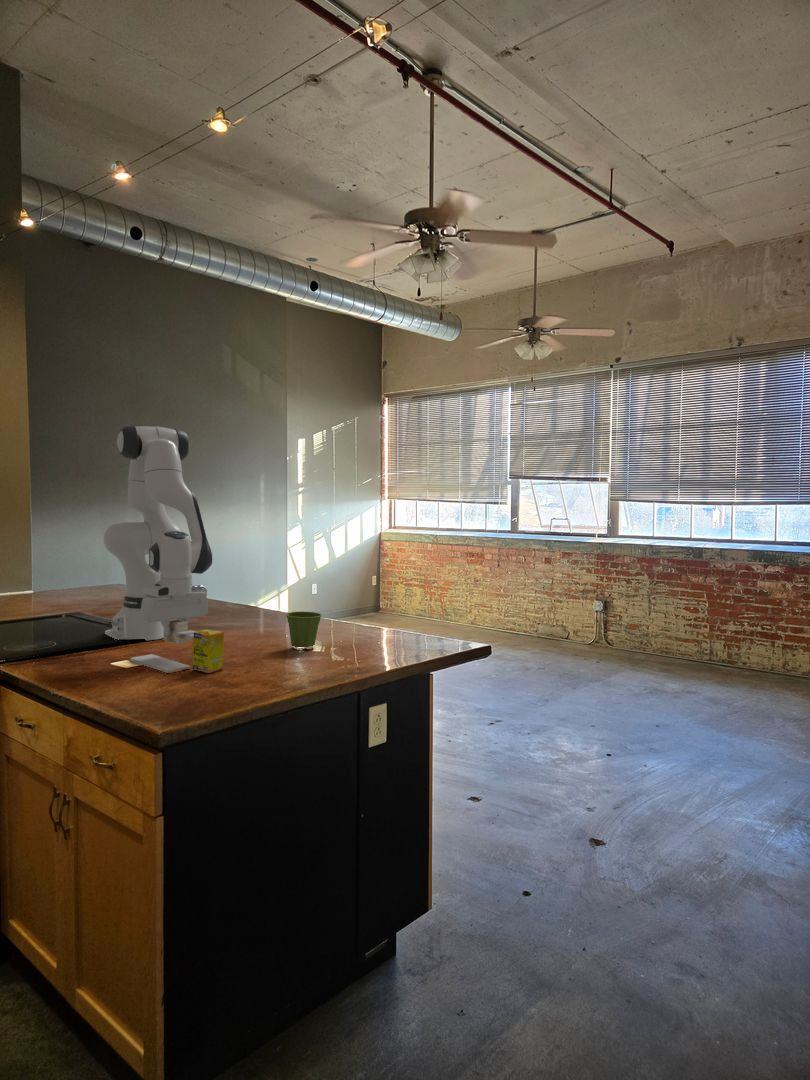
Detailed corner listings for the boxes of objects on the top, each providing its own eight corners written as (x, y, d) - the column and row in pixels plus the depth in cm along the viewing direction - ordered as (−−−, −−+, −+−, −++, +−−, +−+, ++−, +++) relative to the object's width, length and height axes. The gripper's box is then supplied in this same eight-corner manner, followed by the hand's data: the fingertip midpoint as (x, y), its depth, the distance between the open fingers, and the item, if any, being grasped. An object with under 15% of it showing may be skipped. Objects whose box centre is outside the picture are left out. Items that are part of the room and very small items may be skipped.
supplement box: (191, 670, 191) (192, 631, 190) (207, 666, 196) (208, 628, 196) (208, 674, 188) (209, 634, 188) (223, 669, 194) (224, 631, 193)
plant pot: (318, 653, 217) (319, 617, 217) (281, 652, 218) (282, 616, 217) (324, 645, 229) (324, 611, 228) (288, 644, 229) (289, 610, 229)
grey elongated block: (160, 640, 203) (160, 620, 203) (175, 638, 207) (175, 618, 206) (193, 649, 192) (193, 627, 192) (208, 646, 196) (208, 625, 196)
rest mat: (129, 661, 200) (129, 657, 200) (152, 657, 205) (152, 654, 205) (167, 674, 187) (167, 670, 187) (190, 669, 193) (190, 666, 192)
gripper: (200, 583, 211) (200, 628, 212) (137, 589, 196) (137, 637, 197) (212, 585, 207) (212, 631, 208) (149, 591, 192) (149, 640, 192)
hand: (175, 634), depth 202 cm, fingers closed on grey elongated block, 3 cm apart
